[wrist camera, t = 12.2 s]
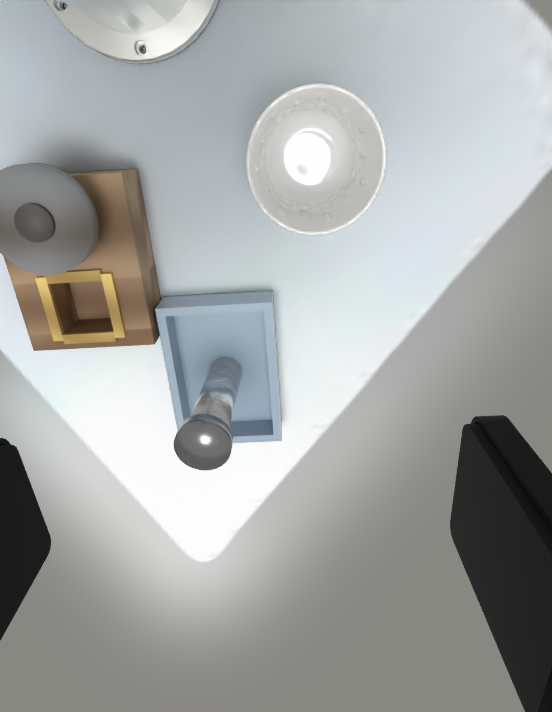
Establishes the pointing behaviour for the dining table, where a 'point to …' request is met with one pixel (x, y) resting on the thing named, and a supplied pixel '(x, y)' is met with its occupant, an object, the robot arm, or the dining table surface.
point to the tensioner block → (79, 256)
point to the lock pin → (211, 418)
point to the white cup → (316, 159)
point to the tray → (224, 339)
